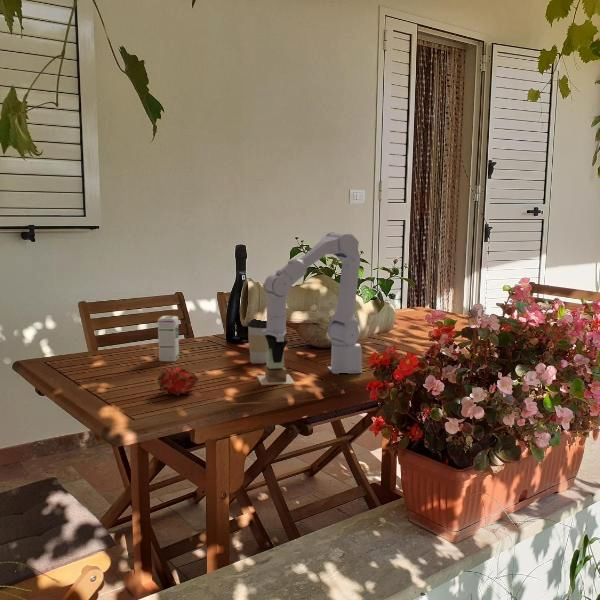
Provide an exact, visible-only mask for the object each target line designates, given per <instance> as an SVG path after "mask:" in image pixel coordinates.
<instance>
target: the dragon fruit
mask: <svg viewBox="0 0 600 600" xmlns="http://www.w3.org/2000/svg"><path fill="white" fill-rule="evenodd" d="M185 368H186V367H185V366H182V367H180V368H178V366H174V367H172V368H169V367H166V368H165V370H163V371H162V372H161V374H159V375H158V376H157V380H158V381H156V383H157V385H158V386H159V387H160V388H159V391H160V392H162V393H163V392H164V393H165V392H167V394H168V395H169V396H171V395H174V396H177V397H178V396H180V394H185V395H189V394H190V393H192V392H193V391H192V390H191V389H193V388H194V387H195V385H196V383H197V382H198V381H199V378H198V376H197V374H195V373H193V372H192V371H189V370H188V371H187V370H186V369H185Z"/></svg>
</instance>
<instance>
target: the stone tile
mask: <svg viewBox="0 0 600 600" xmlns="http://www.w3.org/2000/svg"><path fill="white" fill-rule="evenodd" d="M256 378H257V379H258V381H259V383H260V384H261V386H266V385H269V386H270V385H271V386H272V385H289V384H290V385H291V384H294V385H295V384H296V382H295V381H294V379H293V378H292V376H291V375H290V374H289V373H286V382H268V381H267V380H266V378H265V374H263V375H256Z"/></svg>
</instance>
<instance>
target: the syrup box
mask: <svg viewBox="0 0 600 600" xmlns="http://www.w3.org/2000/svg"><path fill="white" fill-rule="evenodd" d="M179 330H180V329H179V316H177V315H162V316H161V317H159V318H158V319H157V333H158V334H157V336H158V337H157V339H158V361H159V362H176V361H177V360H178V359H180V340H179V338H180V336H179V335H180V334H179V332H180V331H179Z"/></svg>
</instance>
